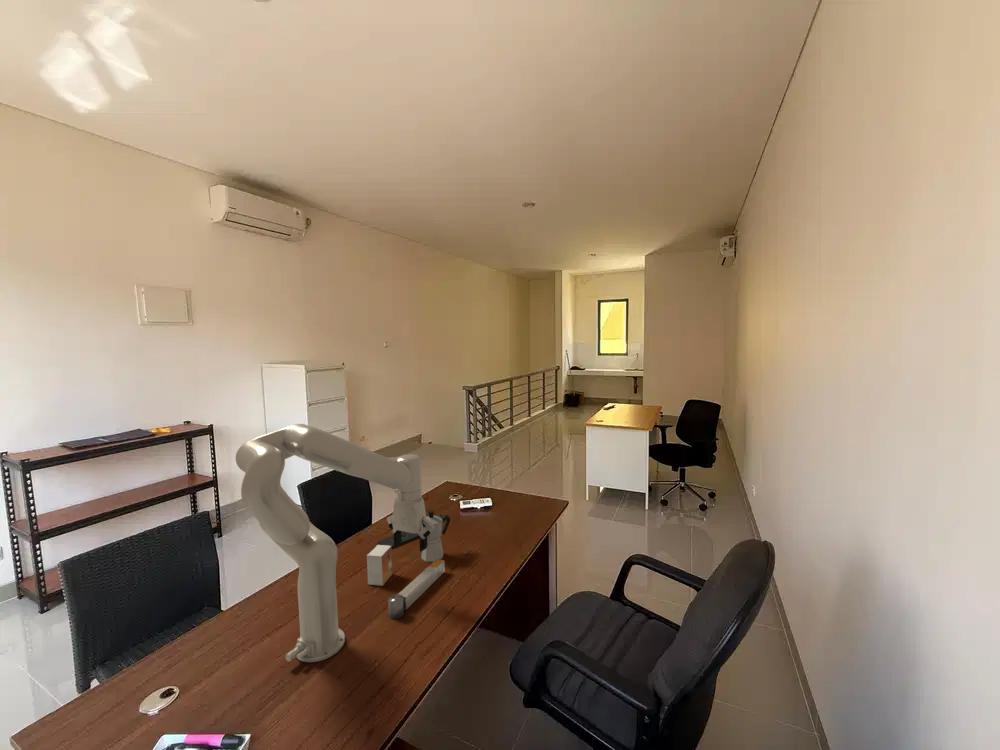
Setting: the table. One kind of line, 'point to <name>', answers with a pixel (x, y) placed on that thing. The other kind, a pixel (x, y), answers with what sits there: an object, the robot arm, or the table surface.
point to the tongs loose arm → (423, 584)
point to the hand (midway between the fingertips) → (410, 546)
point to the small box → (379, 565)
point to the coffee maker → (435, 537)
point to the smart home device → (405, 538)
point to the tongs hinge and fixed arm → (397, 600)
